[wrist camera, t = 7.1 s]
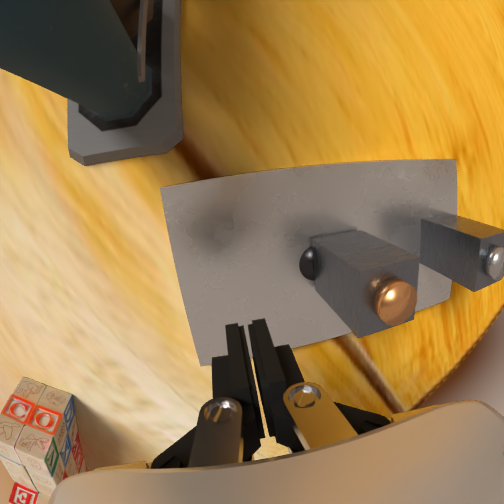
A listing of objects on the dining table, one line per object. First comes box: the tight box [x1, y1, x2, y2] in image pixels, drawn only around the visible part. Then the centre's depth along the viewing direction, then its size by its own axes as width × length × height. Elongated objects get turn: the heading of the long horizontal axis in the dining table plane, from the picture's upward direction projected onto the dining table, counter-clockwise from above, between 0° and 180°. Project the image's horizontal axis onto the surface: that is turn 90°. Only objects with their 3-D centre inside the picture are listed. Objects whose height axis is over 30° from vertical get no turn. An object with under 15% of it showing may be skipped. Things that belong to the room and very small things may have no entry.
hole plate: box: [160, 159, 457, 366], centre depth 23 cm, size 25×14×1 cm, turn 98°
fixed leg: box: [420, 214, 504, 292], centre depth 19 cm, size 4×4×8 cm
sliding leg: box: [312, 230, 420, 338], centre depth 18 cm, size 4×4×8 cm
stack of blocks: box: [0, 377, 87, 504], centre depth 19 cm, size 21×6×12 cm, turn 164°
